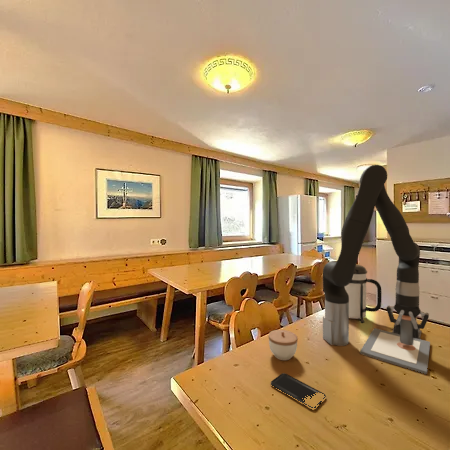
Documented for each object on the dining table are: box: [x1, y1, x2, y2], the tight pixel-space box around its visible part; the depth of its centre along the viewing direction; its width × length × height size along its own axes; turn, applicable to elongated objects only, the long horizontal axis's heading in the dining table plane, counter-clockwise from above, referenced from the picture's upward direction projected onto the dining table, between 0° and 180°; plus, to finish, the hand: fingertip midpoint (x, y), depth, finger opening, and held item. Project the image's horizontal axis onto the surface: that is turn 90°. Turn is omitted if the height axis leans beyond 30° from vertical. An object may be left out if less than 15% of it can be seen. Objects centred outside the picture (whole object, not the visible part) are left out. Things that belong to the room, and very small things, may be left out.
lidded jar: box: [268, 329, 299, 361], centre depth 96 cm, size 11×11×9 cm
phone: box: [270, 372, 327, 408], centre depth 77 cm, size 8×1×15 cm
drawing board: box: [359, 327, 431, 375], centre depth 100 cm, size 26×20×1 cm
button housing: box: [391, 323, 422, 339], centre depth 114 cm, size 10×10×3 cm
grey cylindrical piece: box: [400, 315, 414, 345], centre depth 100 cm, size 5×5×11 cm
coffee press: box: [344, 263, 382, 324], centre depth 130 cm, size 17×16×30 cm
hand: (406, 335), depth 100 cm, fingers closed on grey cylindrical piece, 4 cm apart
